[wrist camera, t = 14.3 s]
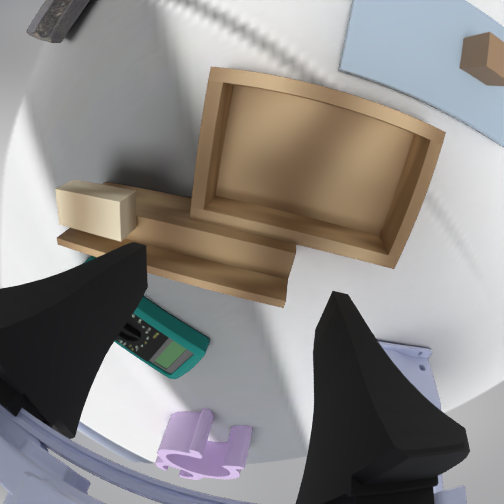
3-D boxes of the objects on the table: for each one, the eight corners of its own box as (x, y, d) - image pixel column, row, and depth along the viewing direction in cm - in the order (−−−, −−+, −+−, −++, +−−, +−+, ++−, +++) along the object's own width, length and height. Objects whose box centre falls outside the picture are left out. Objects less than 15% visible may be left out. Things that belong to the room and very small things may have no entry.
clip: (209, 455, 46) (201, 484, 40) (151, 430, 44) (140, 459, 38) (267, 431, 36) (260, 472, 30) (190, 399, 34) (175, 442, 28)
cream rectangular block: (136, 190, 15) (119, 202, 14) (136, 227, 16) (121, 241, 15) (73, 179, 15) (55, 188, 14) (76, 213, 17) (59, 224, 15)
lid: (511, 45, 9) (550, 43, 5) (494, 143, 14) (535, 160, 10) (357, -36, 10) (371, -69, 6) (336, 72, 15) (349, 61, 10)
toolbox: (423, 126, 15) (474, 141, 9) (371, 271, 21) (389, 329, 15) (113, 68, 16) (52, 68, 10) (106, 208, 21) (57, 244, 16)
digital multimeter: (90, 248, 24) (72, 264, 22) (214, 336, 27) (206, 359, 25) (76, 291, 28) (62, 307, 25) (182, 365, 31) (174, 385, 28)
